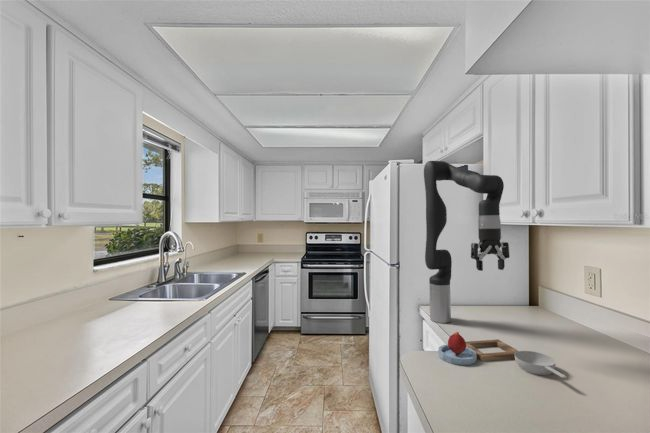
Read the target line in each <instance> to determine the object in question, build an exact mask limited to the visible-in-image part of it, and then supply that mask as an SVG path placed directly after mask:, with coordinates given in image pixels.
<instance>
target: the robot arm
mask: <svg viewBox="0 0 650 433" xmlns="http://www.w3.org/2000/svg"><path fill="white" fill-rule="evenodd" d="M423 180H424V190H425V222H426V223H425V224H426V227H425V228H426V232H425V233H426V236H425V237H426V241H425V250H424V251H425V252H424V253H425V254H424V262H425V265H426V267H427V269H428V270H430V271H431V270H438V271H436V273H434V274H433V275H431V276H430V277H429V279H428V280H429V282H428V283H429V319H430V321H432V322H433V323H439V324H447V323H450V322H452V309H451V308H452V306H451V280H452V262H453V260H452V255H451V253H450V251H449V250H448V249H437V244H438V239H439V237H440V235H441V233H442V232H443V230H444V228H445V226H446V225H447V222H448V221H447V218H448V217H447V215H448V214H447V213H448V212H447V206H446V204H445V202H444V200H443V198H442V197H441V195H440V193H439V190H438V187H437V185H438V184H437V181H438V182H439V181H440V182H441V181H452V182H454V183H455V184H456V185H458V186H460V187H464V188H467V189H469V190H471V191H472V192H474V193H478V194H483V195H484V194H487V195H486V197H485V199H484V200H480V201H479V203H478V224H477V225H478V227H477V228H478V240H479V242H478V243H477V242H471V245H470V258H471V259H472V260H475V263H476V264H475V266H476V267H475V268H476V269H477V271H480V272H482V271H483V270H484V267H483V266H484V264H483V262H484V261H483V259H484V257H486V256H487V255H494V256H496V258H497V269H498V270H500V271H503V270H504V269H505V260H506V259H509V258H510V246H509V242H506V241H502V242H501V239H502V231H501V230H502V227H501V226H502V224H501V216H500V214H501V213H500V203H501V200H502V196H503V194H504V193H503V192H504V187H505V185H504V184H505V183H504V181H503V179H502V177H500V176H499V175H497V174H496V175H493V174H481V173H479V172H477V171H475V170H469V169H465V168H459V167H457V166H454V165H453V164H451V163H449V162H446V161H443V160H429V161H426V163H425V165H424V167H423Z"/></svg>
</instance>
